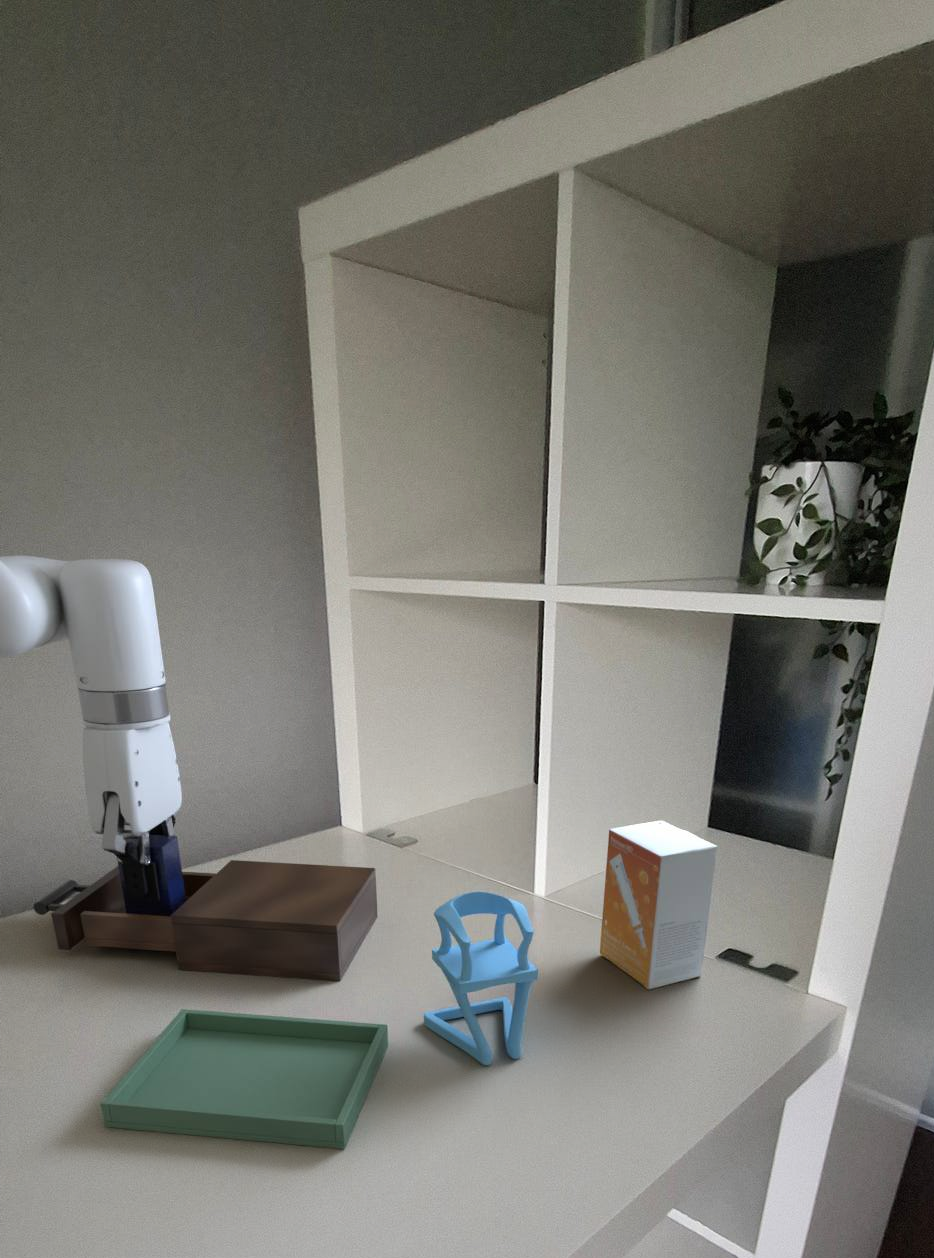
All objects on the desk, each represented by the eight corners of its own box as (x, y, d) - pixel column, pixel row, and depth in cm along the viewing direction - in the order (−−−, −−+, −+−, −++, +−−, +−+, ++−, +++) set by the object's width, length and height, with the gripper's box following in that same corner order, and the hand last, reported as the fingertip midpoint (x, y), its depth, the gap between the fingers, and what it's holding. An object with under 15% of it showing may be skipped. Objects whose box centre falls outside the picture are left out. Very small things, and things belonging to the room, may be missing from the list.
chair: (457, 1073, 69) (456, 931, 64) (422, 1021, 76) (419, 890, 71) (547, 1053, 72) (553, 915, 67) (506, 1005, 79) (508, 877, 74)
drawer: (16, 947, 87) (7, 910, 85) (89, 894, 99) (82, 861, 97) (203, 960, 85) (198, 923, 83) (254, 904, 97) (250, 870, 95)
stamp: (125, 921, 90) (112, 845, 86) (142, 907, 93) (130, 833, 90) (173, 924, 89) (162, 847, 86) (189, 910, 92) (178, 835, 89)
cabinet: (178, 969, 85) (170, 915, 82) (236, 908, 98) (231, 859, 96) (340, 981, 83) (336, 925, 81) (377, 917, 96) (375, 867, 94)
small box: (597, 955, 88) (606, 827, 83) (651, 943, 91) (663, 818, 85) (647, 991, 82) (661, 855, 76) (703, 977, 84) (720, 844, 79)
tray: (104, 1127, 63) (99, 1103, 62) (185, 1029, 75) (182, 1008, 74) (344, 1149, 61) (343, 1125, 60) (388, 1045, 73) (387, 1024, 72)
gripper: (130, 688, 90) (156, 861, 98) (34, 723, 75) (74, 924, 83) (202, 690, 89) (222, 865, 97) (119, 726, 74) (151, 929, 82)
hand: (154, 890), depth 90 cm, fingers closed on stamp, 3 cm apart
